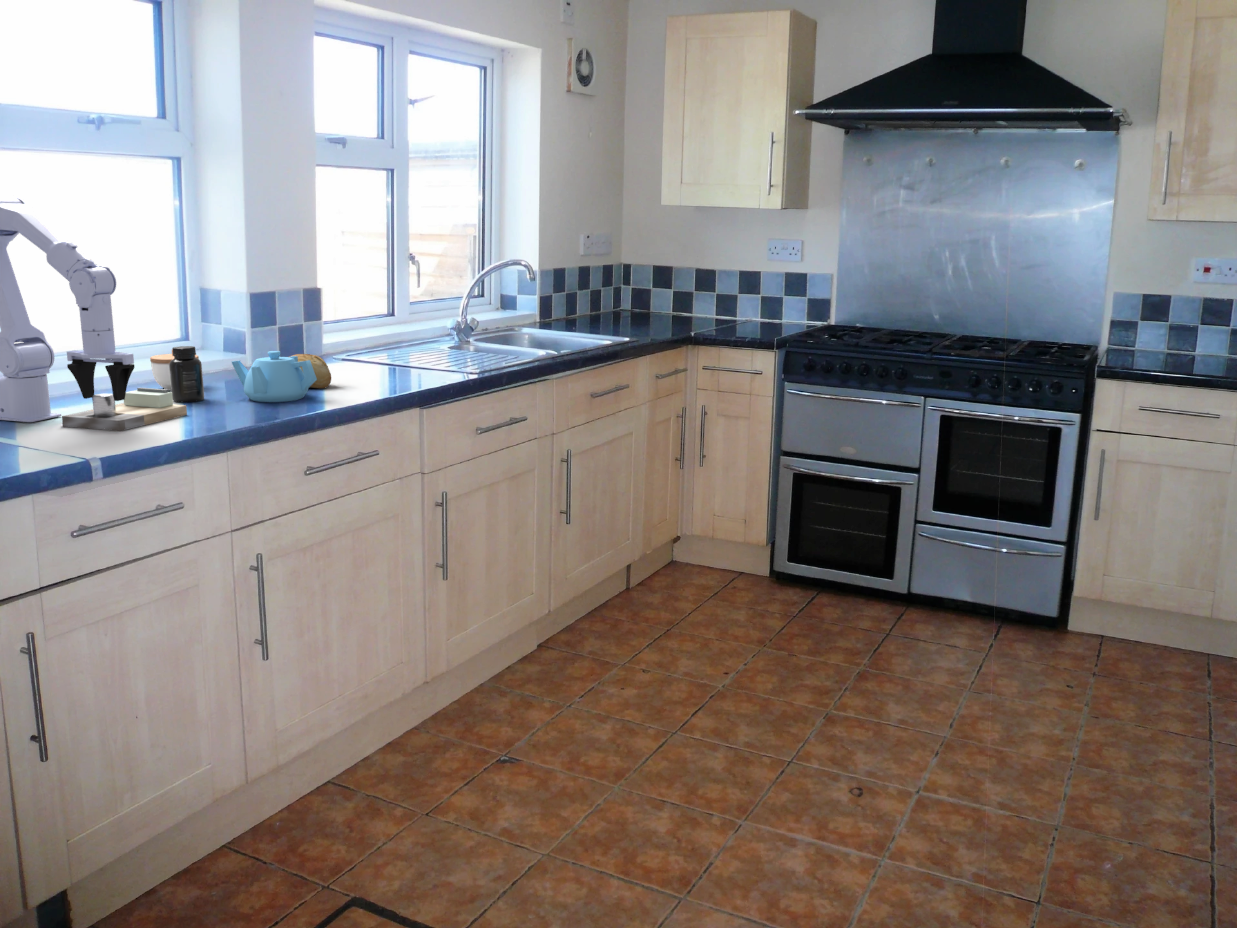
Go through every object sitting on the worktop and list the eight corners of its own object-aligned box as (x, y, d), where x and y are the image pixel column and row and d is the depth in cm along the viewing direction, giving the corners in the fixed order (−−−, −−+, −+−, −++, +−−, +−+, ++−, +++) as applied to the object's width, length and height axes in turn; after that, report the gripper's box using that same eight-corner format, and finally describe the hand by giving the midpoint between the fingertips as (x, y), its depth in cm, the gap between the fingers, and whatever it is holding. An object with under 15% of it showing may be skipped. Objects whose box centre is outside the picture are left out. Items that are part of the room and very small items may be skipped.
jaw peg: (90, 426, 221) (87, 396, 219) (105, 422, 224) (102, 393, 223) (106, 427, 219) (103, 397, 218) (121, 424, 223) (118, 394, 222)
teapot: (251, 406, 245) (248, 357, 242) (232, 396, 257) (229, 349, 255) (320, 400, 253) (317, 352, 251) (298, 391, 265) (295, 346, 263)
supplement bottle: (208, 398, 254) (204, 345, 252) (198, 403, 248) (194, 349, 245) (178, 398, 254) (174, 345, 252) (167, 403, 248) (162, 348, 245)
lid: (124, 405, 232) (122, 389, 231) (138, 402, 236) (136, 387, 235) (159, 407, 229) (158, 392, 228) (173, 404, 233) (171, 389, 232)
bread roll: (287, 382, 279) (285, 350, 277) (341, 385, 275) (339, 353, 273) (265, 388, 270) (263, 355, 268) (320, 391, 266) (318, 358, 264)
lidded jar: (142, 390, 264) (139, 351, 262) (173, 384, 274) (170, 346, 272) (181, 393, 261) (178, 353, 259) (210, 386, 271) (207, 348, 269)
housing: (62, 426, 220) (61, 416, 220) (132, 410, 238) (131, 401, 237) (120, 431, 216) (119, 420, 215) (187, 414, 233) (186, 405, 233)
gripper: (51, 330, 216) (59, 399, 219) (112, 333, 212) (118, 404, 215) (79, 327, 223) (86, 394, 226) (139, 330, 218) (145, 398, 221)
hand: (104, 399), depth 221 cm, fingers open, 7 cm apart
